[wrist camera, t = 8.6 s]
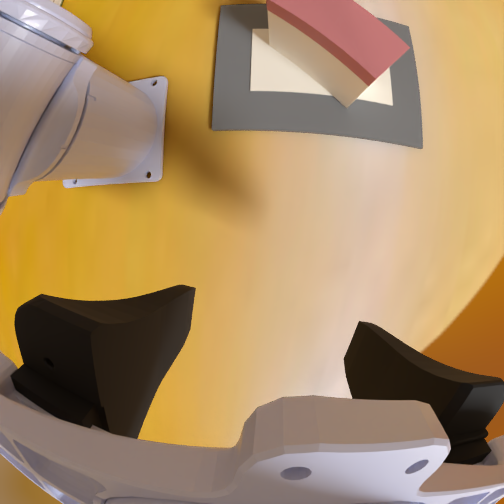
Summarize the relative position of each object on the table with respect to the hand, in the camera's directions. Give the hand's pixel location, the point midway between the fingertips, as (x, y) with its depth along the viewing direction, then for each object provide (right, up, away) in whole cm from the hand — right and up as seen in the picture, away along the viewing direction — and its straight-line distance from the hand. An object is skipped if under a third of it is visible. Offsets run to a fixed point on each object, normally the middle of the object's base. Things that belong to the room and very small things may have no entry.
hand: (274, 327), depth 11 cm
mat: (+4, +16, +4) cm, 17 cm away
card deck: (+4, +16, +4) cm, 17 cm away
